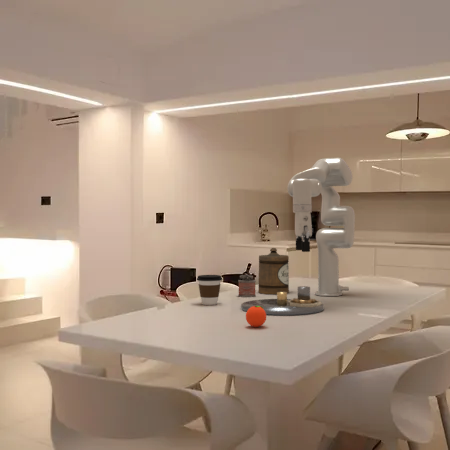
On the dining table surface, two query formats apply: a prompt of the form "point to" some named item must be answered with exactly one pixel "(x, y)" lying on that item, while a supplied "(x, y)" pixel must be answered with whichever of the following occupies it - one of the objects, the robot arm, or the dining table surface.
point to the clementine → (256, 316)
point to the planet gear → (303, 295)
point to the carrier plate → (284, 306)
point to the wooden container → (273, 273)
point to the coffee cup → (209, 288)
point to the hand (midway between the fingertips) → (302, 250)
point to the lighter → (246, 286)
